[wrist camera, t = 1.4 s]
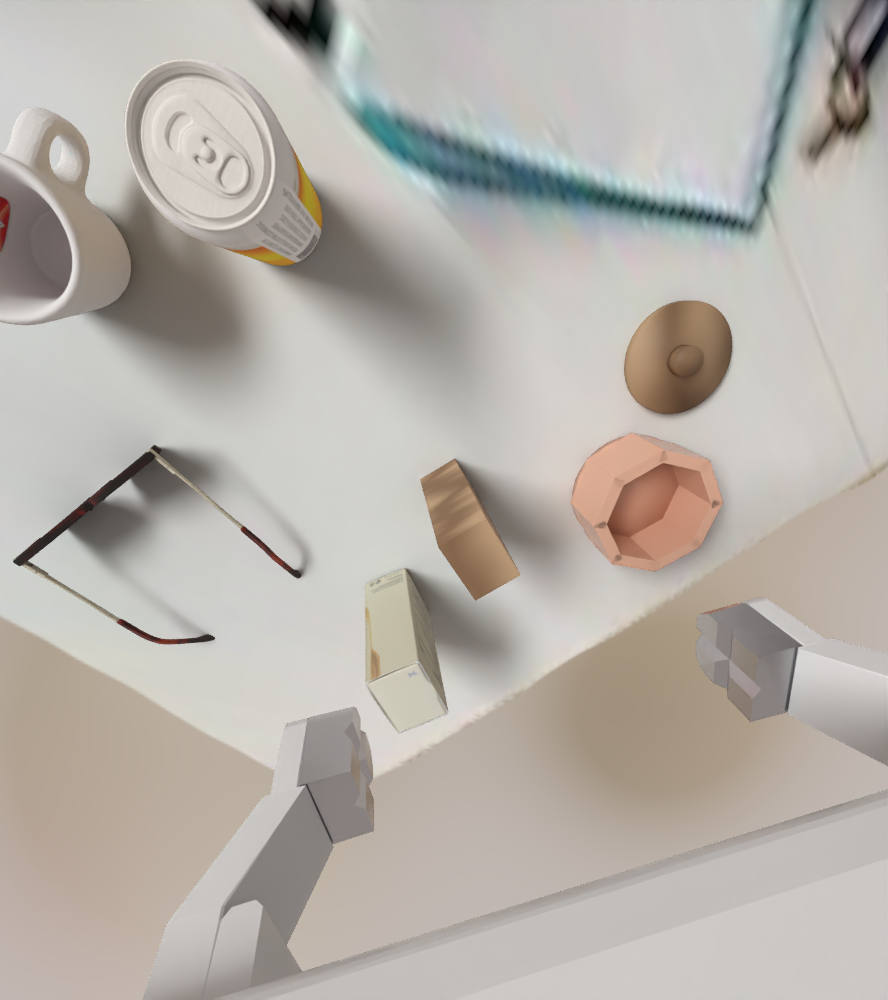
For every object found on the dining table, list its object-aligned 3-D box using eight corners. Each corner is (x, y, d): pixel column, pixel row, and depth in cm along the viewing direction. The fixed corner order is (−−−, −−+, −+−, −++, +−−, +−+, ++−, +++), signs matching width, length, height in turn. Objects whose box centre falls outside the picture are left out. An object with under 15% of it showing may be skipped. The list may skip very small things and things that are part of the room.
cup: (31, 103, 27) (-93, 31, 20) (174, 180, 29) (110, 141, 22) (2, 283, 30) (-115, 278, 23) (133, 339, 33) (65, 351, 25)
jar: (659, 412, 41) (700, 428, 36) (692, 503, 45) (732, 529, 40) (554, 474, 42) (579, 497, 37) (596, 557, 46) (623, 589, 41)
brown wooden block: (454, 458, 40) (486, 519, 29) (481, 502, 42) (520, 574, 31) (420, 479, 40) (438, 547, 29) (448, 522, 42) (475, 600, 31)
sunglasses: (171, 429, 36) (146, 451, 31) (314, 559, 43) (310, 592, 39) (47, 529, 37) (7, 564, 33) (205, 638, 45) (189, 678, 40)
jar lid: (706, 278, 37) (727, 277, 35) (733, 376, 41) (753, 380, 38) (606, 338, 38) (621, 341, 36) (642, 429, 41) (656, 436, 39)
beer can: (257, 137, 29) (156, -5, 16) (340, 206, 31) (316, 135, 18) (212, 224, 31) (84, 165, 17) (294, 285, 33) (239, 275, 19)
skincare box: (363, 583, 43) (360, 681, 32) (406, 565, 43) (417, 657, 32) (391, 631, 46) (397, 738, 35) (431, 615, 46) (450, 716, 35)
